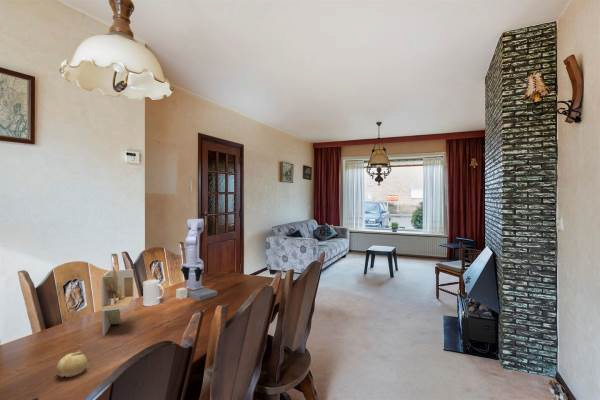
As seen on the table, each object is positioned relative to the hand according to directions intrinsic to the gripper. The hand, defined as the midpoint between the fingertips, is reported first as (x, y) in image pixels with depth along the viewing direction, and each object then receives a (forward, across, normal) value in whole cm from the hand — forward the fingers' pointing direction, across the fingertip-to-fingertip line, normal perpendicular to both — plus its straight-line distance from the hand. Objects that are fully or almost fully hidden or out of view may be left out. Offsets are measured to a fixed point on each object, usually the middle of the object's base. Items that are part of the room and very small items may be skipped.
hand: (192, 280), depth 177 cm
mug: (+10, -12, -16) cm, 22 cm away
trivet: (+10, +4, +4) cm, 11 cm away
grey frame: (+10, -1, -46) cm, 47 cm away
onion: (+10, +16, -77) cm, 79 cm away
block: (+10, -5, -2) cm, 11 cm away
